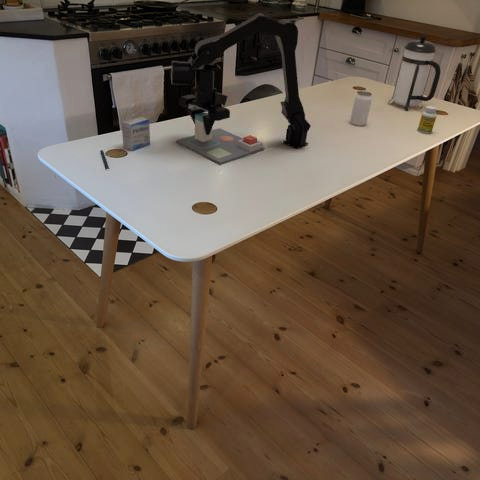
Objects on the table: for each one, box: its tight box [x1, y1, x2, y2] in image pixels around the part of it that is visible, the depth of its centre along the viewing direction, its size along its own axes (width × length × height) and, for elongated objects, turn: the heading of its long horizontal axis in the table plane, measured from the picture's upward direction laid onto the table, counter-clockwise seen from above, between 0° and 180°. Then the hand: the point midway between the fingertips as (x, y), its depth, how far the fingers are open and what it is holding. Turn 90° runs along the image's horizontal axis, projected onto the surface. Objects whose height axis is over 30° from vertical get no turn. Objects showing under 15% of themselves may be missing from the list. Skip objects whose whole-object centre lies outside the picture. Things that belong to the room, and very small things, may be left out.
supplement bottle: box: [417, 105, 438, 135], centre depth 179 cm, size 5×5×10 cm
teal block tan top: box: [194, 111, 213, 142], centre depth 152 cm, size 4×4×8 cm
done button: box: [243, 134, 258, 145], centre depth 153 cm, size 3×3×2 cm
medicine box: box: [120, 116, 151, 152], centre depth 148 cm, size 8×4×9 cm, turn 143°
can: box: [349, 90, 373, 127], centre depth 181 cm, size 6×6×12 cm
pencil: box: [99, 149, 110, 170], centre depth 141 cm, size 1×1×15 cm
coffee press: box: [388, 34, 441, 112], centre depth 199 cm, size 17×16×30 cm
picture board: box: [175, 127, 265, 166], centre depth 155 cm, size 22×20×3 cm
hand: (203, 132), depth 153 cm, fingers closed on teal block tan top, 4 cm apart
